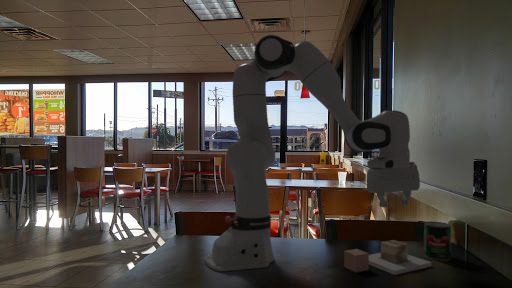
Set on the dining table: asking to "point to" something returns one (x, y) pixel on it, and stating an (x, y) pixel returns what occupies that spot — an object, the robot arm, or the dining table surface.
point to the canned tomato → (437, 240)
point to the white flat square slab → (398, 264)
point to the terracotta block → (356, 260)
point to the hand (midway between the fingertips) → (393, 205)
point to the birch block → (394, 251)
